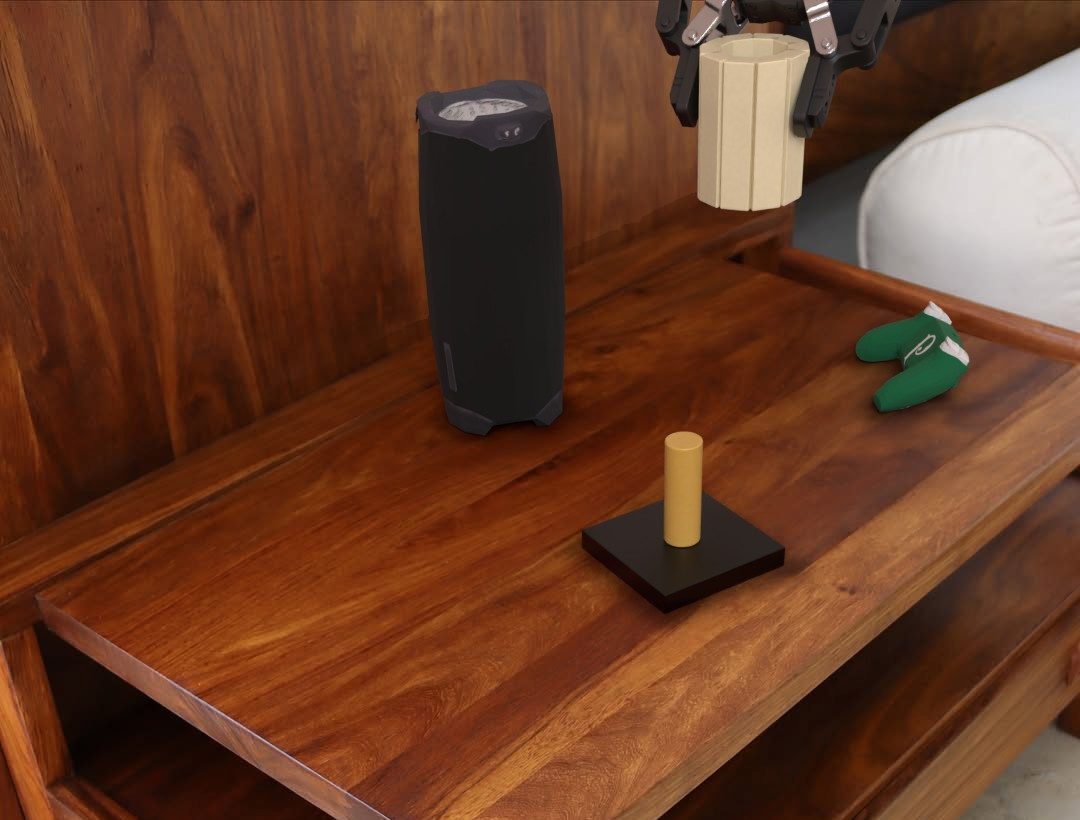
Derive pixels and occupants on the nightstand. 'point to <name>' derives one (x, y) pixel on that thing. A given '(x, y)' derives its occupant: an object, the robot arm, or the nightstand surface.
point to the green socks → (916, 358)
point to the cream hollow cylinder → (750, 121)
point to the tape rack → (682, 538)
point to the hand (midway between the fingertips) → (742, 124)
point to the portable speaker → (493, 252)
